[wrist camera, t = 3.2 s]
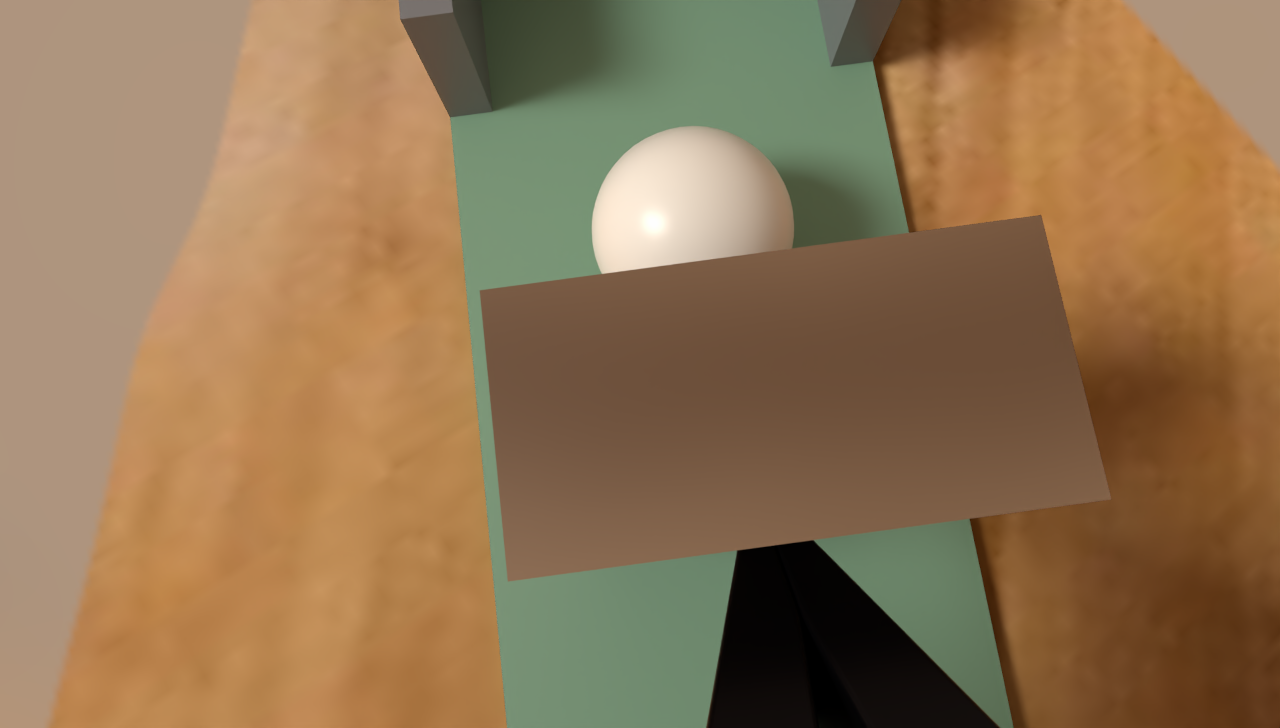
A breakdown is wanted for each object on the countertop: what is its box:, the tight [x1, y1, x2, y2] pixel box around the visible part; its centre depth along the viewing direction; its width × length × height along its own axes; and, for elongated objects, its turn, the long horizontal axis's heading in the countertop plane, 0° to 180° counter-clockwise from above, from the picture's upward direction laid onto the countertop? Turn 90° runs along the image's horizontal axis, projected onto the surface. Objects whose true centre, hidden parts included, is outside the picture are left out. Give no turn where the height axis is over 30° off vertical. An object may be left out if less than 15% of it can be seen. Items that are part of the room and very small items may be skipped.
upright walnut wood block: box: [480, 215, 1111, 582], centre depth 12 cm, size 3×6×8 cm, turn 98°
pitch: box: [450, 0, 1014, 728], centre depth 18 cm, size 20×10×1 cm, turn 8°
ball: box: [592, 126, 794, 274], centre depth 16 cm, size 4×4×4 cm
